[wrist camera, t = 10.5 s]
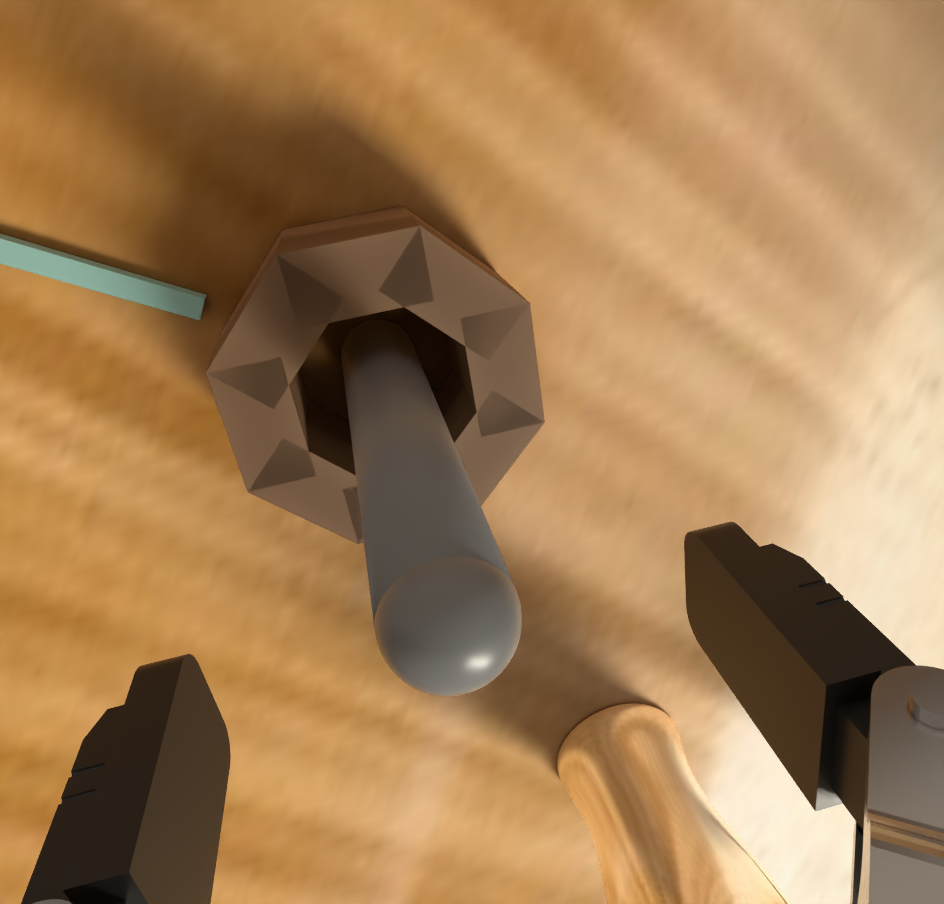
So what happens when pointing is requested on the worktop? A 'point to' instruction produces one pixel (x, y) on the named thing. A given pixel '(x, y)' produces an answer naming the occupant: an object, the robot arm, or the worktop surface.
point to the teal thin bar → (100, 277)
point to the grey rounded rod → (423, 526)
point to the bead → (353, 295)
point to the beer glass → (655, 815)
